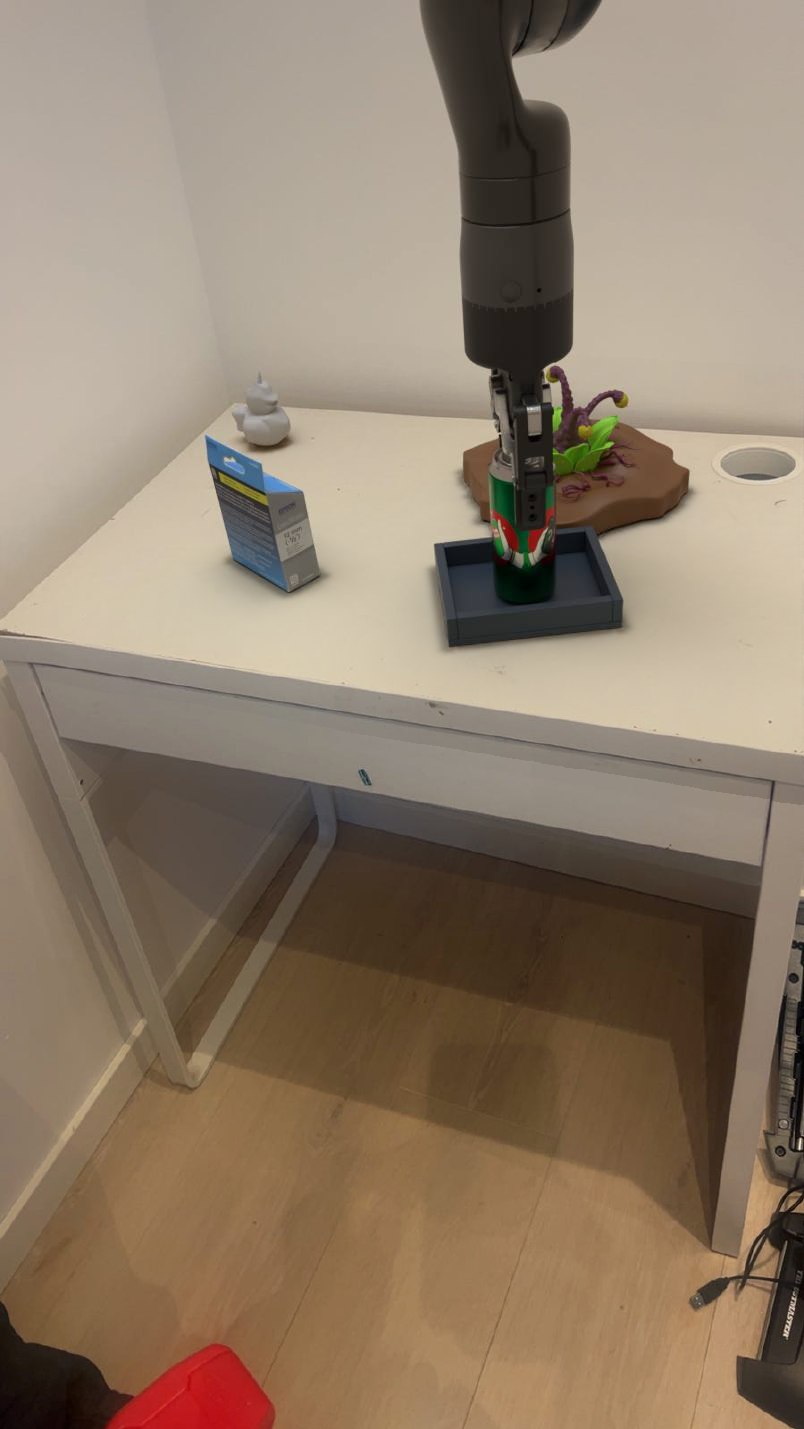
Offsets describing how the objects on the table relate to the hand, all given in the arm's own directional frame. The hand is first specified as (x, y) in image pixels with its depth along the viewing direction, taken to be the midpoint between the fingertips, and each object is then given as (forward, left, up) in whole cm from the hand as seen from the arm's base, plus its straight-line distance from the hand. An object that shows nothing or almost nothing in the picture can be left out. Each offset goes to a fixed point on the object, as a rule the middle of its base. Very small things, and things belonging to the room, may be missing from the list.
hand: (522, 501), depth 80 cm
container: (0, 0, -9) cm, 9 cm away
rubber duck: (+23, -36, -9) cm, 44 cm away
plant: (-7, -18, -9) cm, 21 cm away
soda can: (0, 0, -8) cm, 8 cm away
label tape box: (+21, -9, -9) cm, 25 cm away
